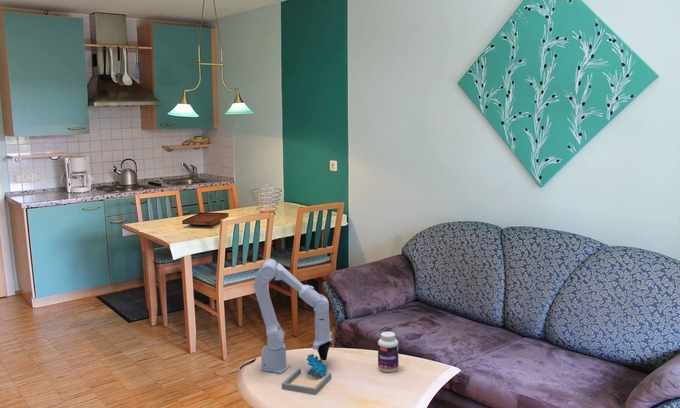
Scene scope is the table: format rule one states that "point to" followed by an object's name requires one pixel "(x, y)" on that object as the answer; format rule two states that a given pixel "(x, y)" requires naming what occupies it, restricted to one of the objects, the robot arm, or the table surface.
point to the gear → (316, 365)
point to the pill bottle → (388, 352)
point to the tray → (304, 389)
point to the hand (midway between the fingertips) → (323, 359)
